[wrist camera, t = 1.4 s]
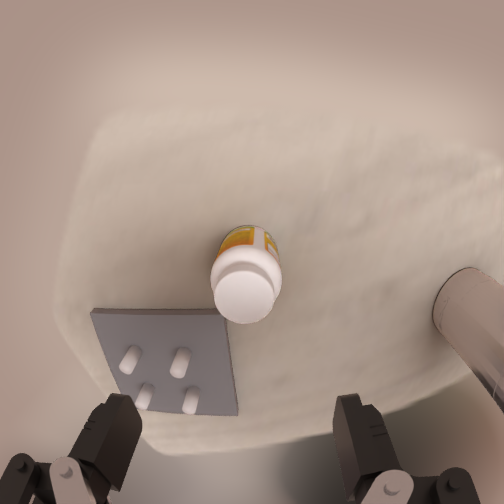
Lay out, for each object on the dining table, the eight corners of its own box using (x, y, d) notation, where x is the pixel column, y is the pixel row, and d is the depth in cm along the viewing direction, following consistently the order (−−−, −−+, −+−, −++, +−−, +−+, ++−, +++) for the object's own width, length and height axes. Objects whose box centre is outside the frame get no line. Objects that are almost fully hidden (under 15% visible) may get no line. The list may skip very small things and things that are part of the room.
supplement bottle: (213, 266, 29) (192, 317, 20) (232, 215, 27) (218, 247, 18) (264, 285, 29) (265, 343, 20) (286, 237, 28) (298, 278, 18)
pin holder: (224, 308, 30) (218, 333, 26) (238, 409, 35) (236, 435, 31) (94, 308, 31) (75, 328, 26) (130, 402, 36) (119, 424, 31)
